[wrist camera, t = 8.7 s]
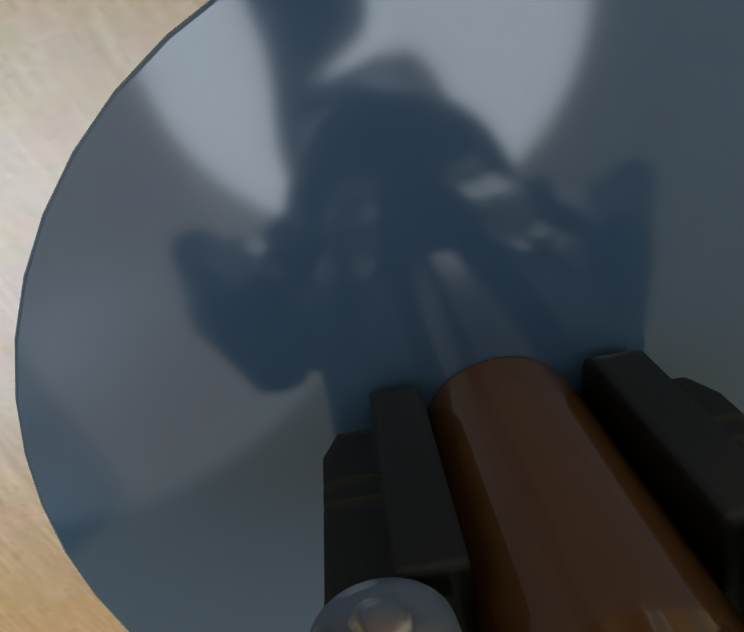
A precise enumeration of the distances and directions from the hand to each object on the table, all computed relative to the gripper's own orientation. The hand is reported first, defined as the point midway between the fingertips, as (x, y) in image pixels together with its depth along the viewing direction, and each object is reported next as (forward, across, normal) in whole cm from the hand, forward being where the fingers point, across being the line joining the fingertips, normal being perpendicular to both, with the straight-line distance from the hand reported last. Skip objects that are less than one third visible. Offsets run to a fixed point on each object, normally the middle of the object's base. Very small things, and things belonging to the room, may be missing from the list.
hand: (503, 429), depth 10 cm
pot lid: (+1, 0, 0) cm, 1 cm away
